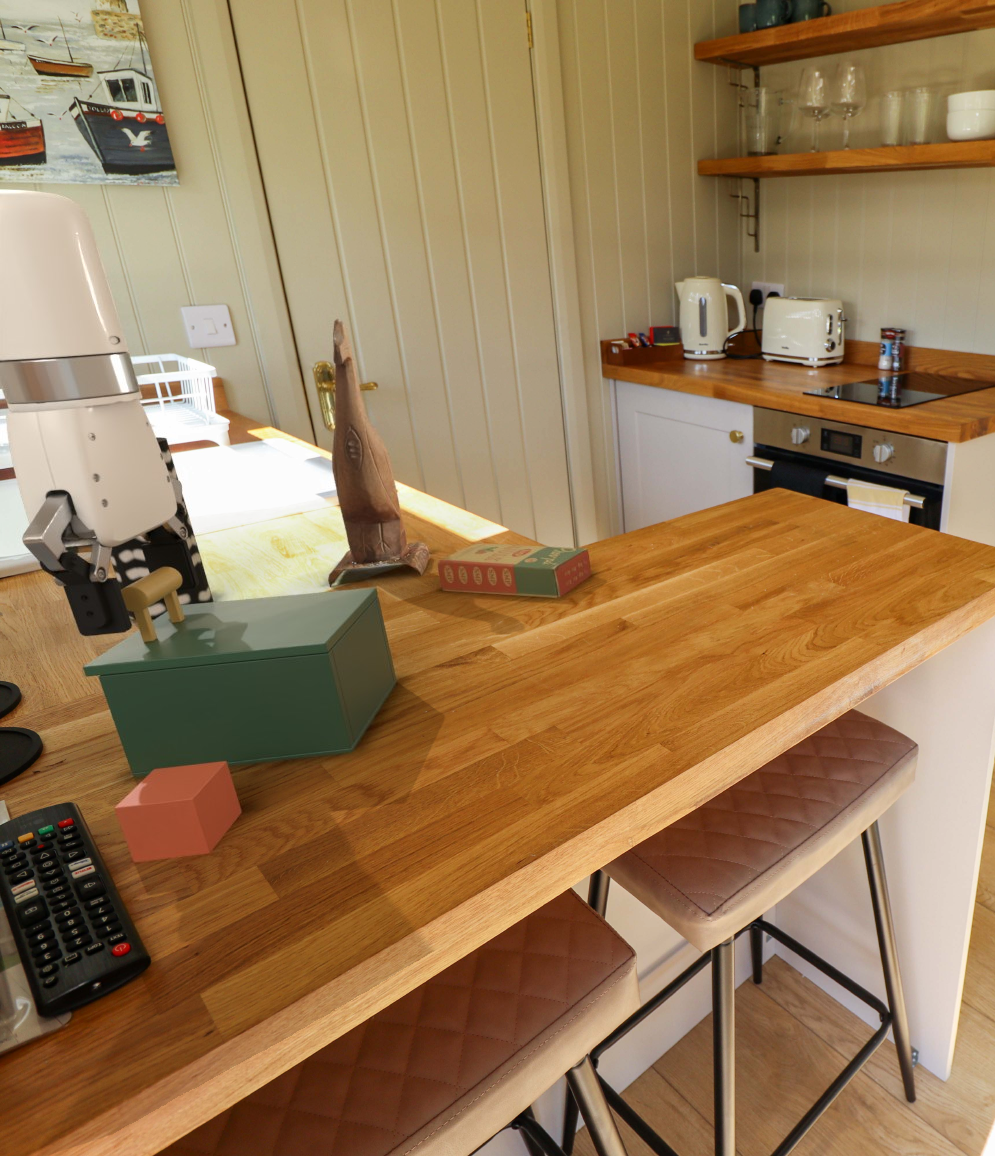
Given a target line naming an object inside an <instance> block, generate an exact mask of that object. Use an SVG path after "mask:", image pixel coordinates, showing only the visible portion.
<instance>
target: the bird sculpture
mask: <svg viewBox="0 0 995 1156" xmlns="http://www.w3.org/2000/svg"><path fill="white" fill-rule="evenodd" d="M347 329H348V328H347V327H346V324H345V323H344V322H343V320H341V319H340V318H337V319H335V320H334V321H333V329H332V330H333V332H332V343H333V345H332V347H333V348H332V349H333V350H332V351H333V354H332V355H333V356H332V358H333V363H334V365H335V368H334V369H335V370H334V371H335V372H334V429H333V441H332V450H331V466H332V467H331V470H332V475H333V480H334V484H335V489H336V495H337V496H336V497H337V500H338V504H339V508H340V512H341V517H342V521H343V525H344V529H345V534H346V539H347V544H348V547H349V550H348V551H347V552H346V553H345V554H344V556H343V557H342V558H341V560H340V561H339V562H338V563H337V565H336V566H334V568H333V569H332V571H331V572H330V573H329V575H328V578H327V581H328V586H329V588H331V587H332V586H333V584H335V583H336V581H337V579H338V578H339V577H340V576H341V574H342V573H343V572H345V571H346V570H351V569H360V568H369V567H378V566H380V565H396V564H403V565H404V564H405V565H406V566H409V567H411V568H413V569H414V570H416V571H417V572H418V573H419V574H420V575H421V576H423V574H424V572H425V571H426V568H427V565H428V563H429V560H430V556H431V555H430V550H429V548H428V546H427V545H426V544H425V543H424V542H421V541H417V542H408V541H407V536H406V535H407V534H406V530H405V527H404V521H403V517H402V512H401V507H400V500H399V495H398V491H397V487H396V482H395V478H394V472H393V468H392V463H391V460H390V455H389V451H388V450H387V447H386V445H385V443H384V441H383V440H382V438H381V436H380V435H379V433H378V432H377V430H376V429H375V427H374V425H373V424H372V422H371V421H370V420H369V418H368V415H367V413H366V410H365V404H364V401H363V396H362V394H361V392H362V391H361V387H360V383H359V381H358V376H357V371H356V366H355V362H354V358H353V351H352V347H351V344H350V338H349V335H348V330H347Z"/></svg>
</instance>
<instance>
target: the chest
mask: <svg viewBox="0 0 995 1156" xmlns="http://www.w3.org/2000/svg"><path fill="white" fill-rule="evenodd" d="M98 679H99V683H100V685H101V689H102V692H103V695H104V697H105V701H106V703H107V706H108V708H109V712H110V714H111V718H112V720H113V724H114V725H115V729H116V731H117V734H118V737H119V740H120V743H121V747H122V749H123V752H124V755H125V757H126V760H127V763H128V766H129V769H130V772H131V773H132V777H133V778H140V777H141V778H142V777H147V776H148V775H149V774H150V773H151V772H152V771H153V770H154V769H161V768H169V767H178V766H187V765H196V764H204V763H213V762H222V761H227V765H228V767H236V766H245V765H254V764H262V763H270V762H271V763H272V762H279V761H280V762H281V761H287V760H297V759H306V758H316V757H323V756H331V755H341V754H348V753H349V754H350V753H353V752H354V751H355V749H356V747H357V745H358V744H359V742H360V741H361V739H363V736H364V734H365V733H366V731H367V730H368V728H369V727H370V725H371V724H372V722H373V720H374V719H375V717H376V716H377V714H378V712H379V711H380V710H381V708H382V706H383V705H384V703H385V702H386V700H387V698H388V697H389V695H390V694H391V692H392V690H394V687H395V686H396V684H397V683H398V680H397V676H396V672H395V667H394V662H393V657H392V654H391V647H390V644H389V638H388V634H387V630H386V625H385V621H384V617H383V611H382V607H381V602H380V598H379V596H377V597H376V598H375V600H374V601H373V602H372V603H371V604H370V605H369V606H368V607H367V609H366V610H365V611H364V612H363V613H362V614H361V615H360V617H359V618H358V619H357V620H356V621H355V622H354V623H353V624H352V626H351V627H350V628H349V629H348V630H347V631H346V632H345V634H344V635H343V636H342V637H341V638H340V639H339V640H338V641H337V643H336V644H335V645H334V646H333V647H332V648H331V649H330V650H329V652H327V653H319V654H309V655H299V656H289V657H279V658H269V659H259V660H249V661H239V662H229V663H219V664H209V665H199V666H189V667H178V668H168V669H158V670H148V671H138V672H128V673H118V674H108V675H98Z"/></svg>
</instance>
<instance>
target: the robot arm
mask: <svg viewBox="0 0 995 1156" xmlns="http://www.w3.org/2000/svg"><path fill="white" fill-rule="evenodd" d="M102 260H103V259H102V256H101V253H100V251H99V247H98V244H97V240H96V236H95V233H94V230H93V227H92V224H91V221H90V219H89V217H88V215H87V213H86V212H85V210H84V209H83V207H82V206H81V205H80V204H78V202H76V201H74V200H73V199H71V198H69V197H67V196H64V195H61V194H57V193H53V192H44V191H36V190H27V189H26V190H25V189H23V190H22V189H0V388H1V390H2V395H3V396H4V399H5V402H6V404H7V408H8V410H9V411H8V412H6V413H5V419H6V432H7V439H8V447H9V452H10V458H11V462H12V466H13V471H14V474H15V478H16V479H15V480H16V482H17V486H18V490H19V494H20V498H21V501H22V505H23V508H24V511H25V514H26V517H27V521H28V527H27V529H26V530H25V531H24V533H23V534H22V537H21V541H22V543H23V545H24V546H25V548H26V549H28V551H29V552H30V553H31V554H32V555H33V556H34V558H36V560H37V561H38V562H39V566H40V568H41V569H42V570H43V571H44V572H45V573H47V574H48V575H50V576H51V577H52V578H53V582H54V584H56V585H57V586H58V587H62V588H63V590H64V593H65V595H66V600H67V601H68V604H69V606H70V607H69V608H70V610H71V612H72V615H73V618H74V621H75V624H76V626H77V630H78V632H79V634H80V635H82V636H83V637H91V636H93V637H94V636H104V635H113V634H123V633H127V632H128V631H129V630H131V629H132V627H133V624H132V620H131V618H130V617H129V614H128V611H127V608H126V605H125V602H124V599H123V596H122V593H121V590H120V587H119V584H118V581H117V578H116V577H109V571H110V565H111V560H110V558H111V552H112V547H114V546H118V545H120V544H123V543H125V542H127V541H129V540H132V539H134V538H136V537H138V536H141V537H142V538H143V539H144V540H145V541H147V542H149V544H143V545H141V548H142V551H143V554H144V557H145V561H146V564H147V567H148V570H149V573H152V572H154V571H156V570H157V569H159V568H161V567H171V568H174V569H176V570H177V571H178V572H179V573H180V574H181V576H182V584H181V586H180V587H179V588H178V589H176V590H181V589H192V588H194V587H196V586H198V584H199V581H198V578H197V574H196V571H195V568H194V564H193V561H192V557H191V554H190V551H189V547H188V544H187V541H186V540H185V539H186V538H187V537H188V531H187V528H186V527H185V526H184V525H183V521H184V516H185V508H184V507H183V505H182V494H183V484H182V482H181V481H180V480H179V479H178V480H177V479H175V478H173V477H171V476H169V473H168V470H167V466H166V464H165V461H164V458H163V455H162V452H161V449H160V447H159V444H158V442H157V439H156V437H157V436H156V434H155V432H154V429H153V426H152V425H151V424H152V423H151V421H150V420H149V418H148V415H147V412H146V410H145V408H144V407H143V404H142V403H141V400H142V399H143V398H144V397H143V394H142V391H141V387H140V385H139V382H138V381H139V380H138V378H137V375H136V371H135V368H134V365H133V361H132V358H131V355H130V353H129V347H128V343H127V341H126V338H125V334H124V331H123V328H122V325H121V320H120V317H119V313H118V310H117V307H116V304H115V300H114V297H113V293H112V291H111V287H110V284H109V281H108V276H107V273H106V269H105V267H104V263H103V261H102ZM181 540H184V541H181ZM150 542H151V543H150ZM84 553H90V558H89V561H87V560H86V559H85V558H83V557H81V556H80V555H79V554H84Z"/></svg>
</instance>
